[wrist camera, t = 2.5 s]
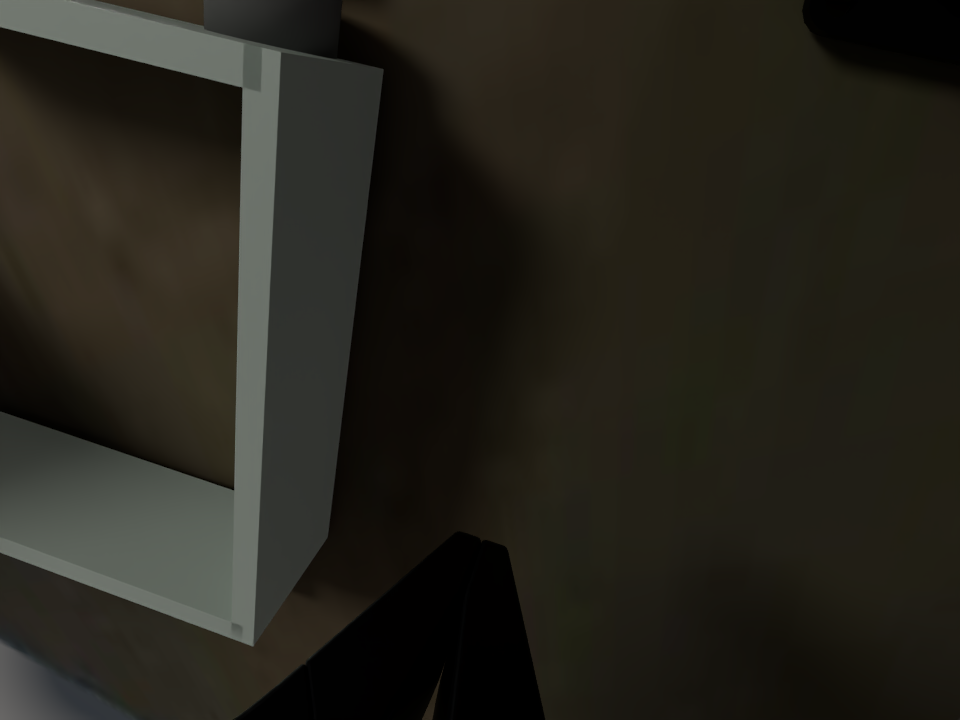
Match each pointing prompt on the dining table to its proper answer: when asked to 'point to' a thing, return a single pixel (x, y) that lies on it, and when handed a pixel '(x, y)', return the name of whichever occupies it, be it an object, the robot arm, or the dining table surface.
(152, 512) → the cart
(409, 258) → the dining table surface
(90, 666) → the dining table surface
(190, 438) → the dining table surface
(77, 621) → the dining table surface
